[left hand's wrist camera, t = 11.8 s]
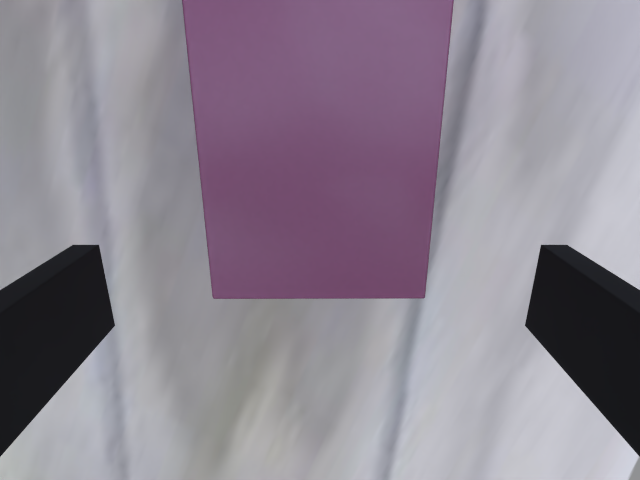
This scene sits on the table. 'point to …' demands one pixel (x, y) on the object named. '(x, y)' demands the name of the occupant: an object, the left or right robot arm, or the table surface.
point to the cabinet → (318, 143)
